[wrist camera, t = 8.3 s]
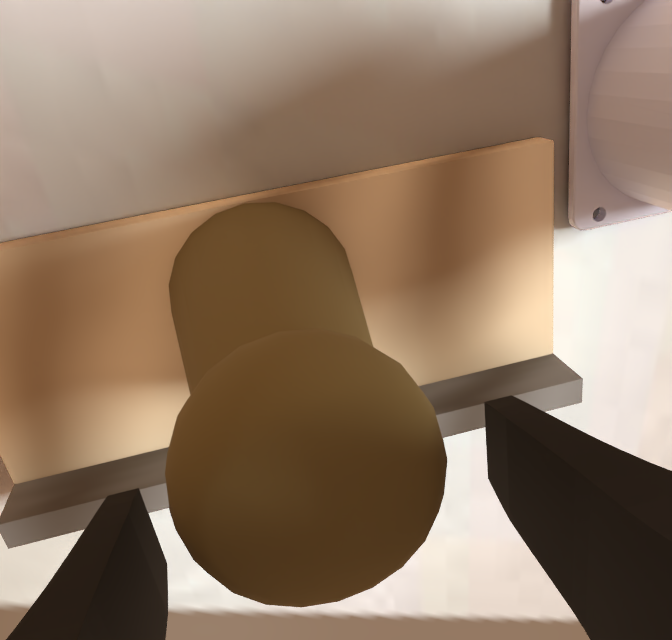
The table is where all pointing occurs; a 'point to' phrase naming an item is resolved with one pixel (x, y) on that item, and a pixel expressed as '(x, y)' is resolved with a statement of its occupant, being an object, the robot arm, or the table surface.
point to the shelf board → (374, 292)
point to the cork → (292, 417)
